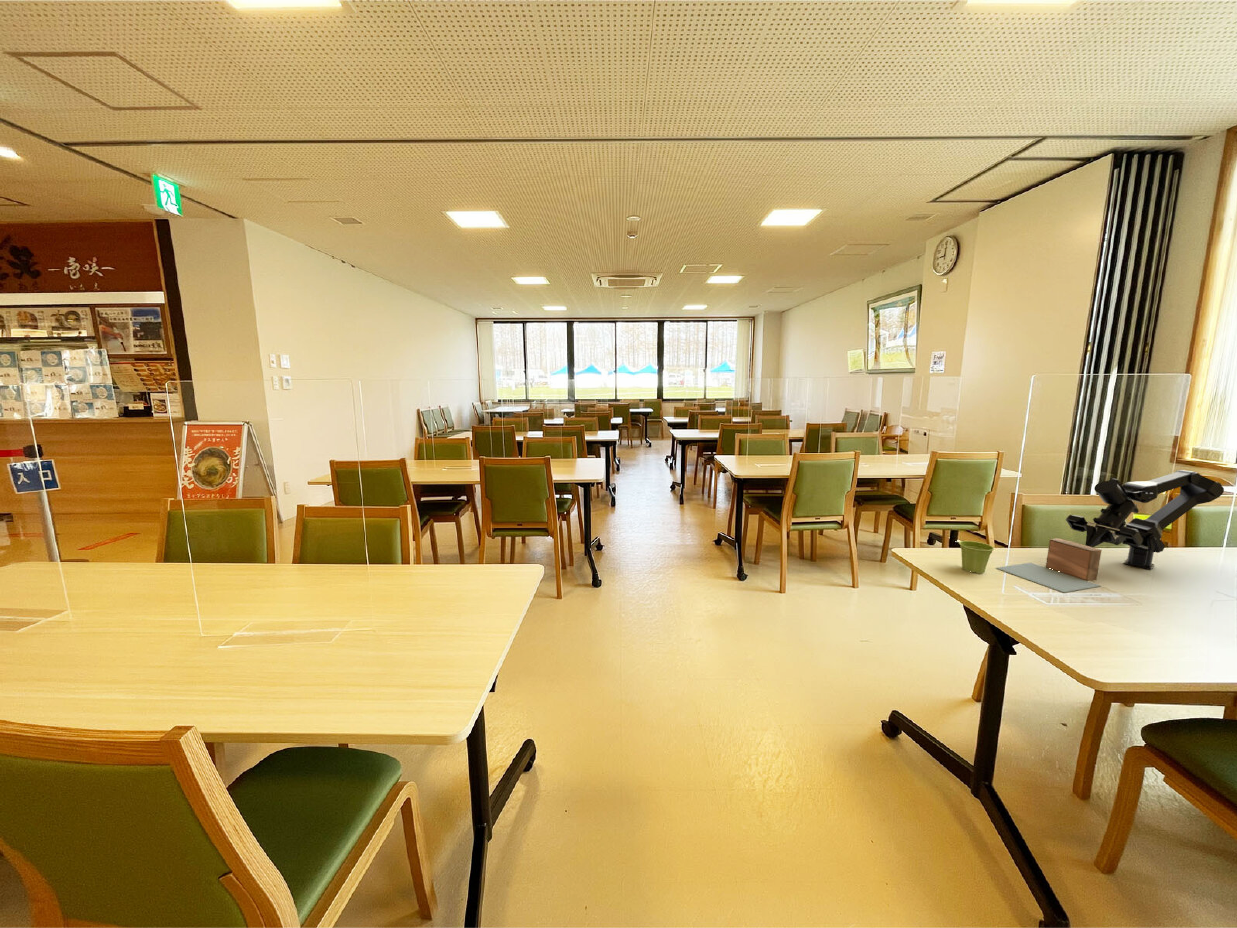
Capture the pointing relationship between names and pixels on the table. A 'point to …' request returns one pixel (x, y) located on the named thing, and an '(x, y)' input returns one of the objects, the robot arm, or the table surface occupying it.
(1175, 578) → the table surface
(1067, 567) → the walnut block
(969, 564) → the plant pot
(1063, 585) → the mat
